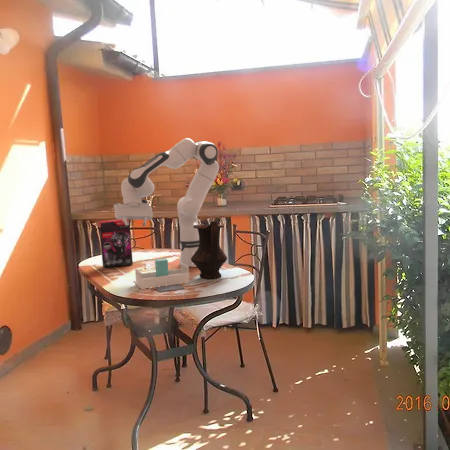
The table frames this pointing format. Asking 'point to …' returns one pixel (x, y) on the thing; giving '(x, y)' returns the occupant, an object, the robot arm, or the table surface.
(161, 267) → the teal box
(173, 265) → the table surface
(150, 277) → the carton
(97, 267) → the table surface
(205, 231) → the jug
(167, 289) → the slate mat
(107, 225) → the graphics card box
